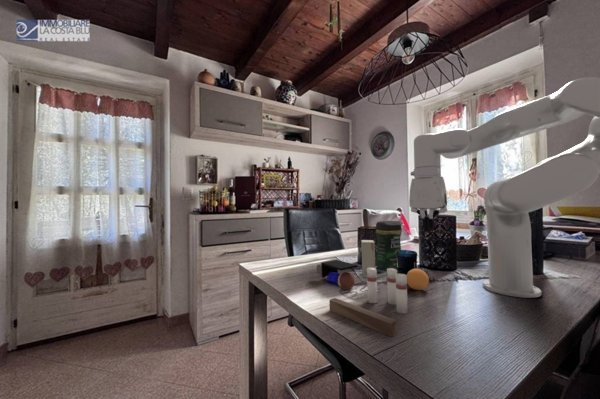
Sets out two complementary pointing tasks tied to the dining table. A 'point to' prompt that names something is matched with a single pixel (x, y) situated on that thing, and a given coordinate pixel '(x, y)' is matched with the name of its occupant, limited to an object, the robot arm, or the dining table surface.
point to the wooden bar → (364, 316)
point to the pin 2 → (401, 293)
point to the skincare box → (367, 255)
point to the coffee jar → (388, 244)
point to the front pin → (391, 285)
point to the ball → (417, 279)
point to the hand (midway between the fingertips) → (428, 230)
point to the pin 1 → (372, 285)
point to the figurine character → (331, 273)
